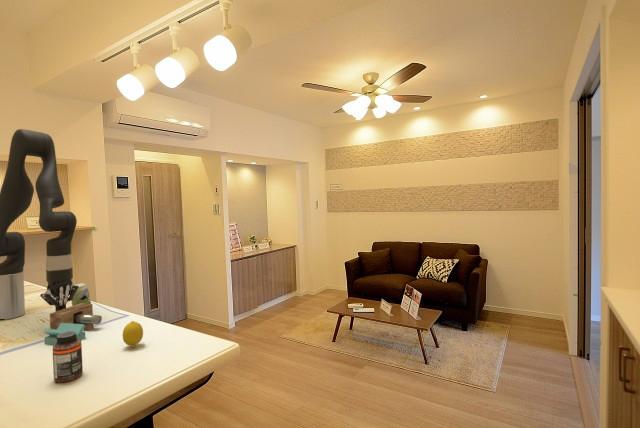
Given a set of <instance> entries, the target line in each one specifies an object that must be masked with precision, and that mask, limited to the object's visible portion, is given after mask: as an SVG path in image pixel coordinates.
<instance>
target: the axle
mask: <svg viewBox="0 0 640 428" xmlns="http://www.w3.org/2000/svg"><path fill="white" fill-rule="evenodd" d="M102 320H103V319H102V316H101V315H96V314H93V315H85V314H73V322H74V323H84V324H94V325H100V324H101V322H102Z"/></svg>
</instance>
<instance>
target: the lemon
mask: <svg viewBox="0 0 640 428" xmlns="http://www.w3.org/2000/svg"><path fill="white" fill-rule="evenodd" d="M143 337H144V329H143V326H142V325H141V324H140V323H139V322H137V321H134V320H132V321H130V322H129V323H127V324H126V325H125V326H124V327H123V330H122V340H123V342H124V343H125V345H126V346H130V347H132V348H134V347H136V346H137V345H138V344H139V343H140V342H141V341H142V339H143Z"/></svg>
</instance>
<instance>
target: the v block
mask: <svg viewBox="0 0 640 428" xmlns="http://www.w3.org/2000/svg"><path fill="white" fill-rule="evenodd" d="M85 327H86V325H84V324H71V323H61V324H60V325H59V327H58V328H57V330H54V329H50V328H44V330H43V331H42V332H43V333H44V334H46V335H47V336H46V337H44V344H45V345H53V346H54V345H55V344H56V343H57V335H59V334H61V333H64V332H69V331H75V332H76V335H77V337H76V338H77V339H79V340H80V341H82V340H85V339H86V331H85V330H84V328H85Z"/></svg>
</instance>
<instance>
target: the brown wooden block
mask: <svg viewBox="0 0 640 428" xmlns="http://www.w3.org/2000/svg"><path fill="white" fill-rule="evenodd" d="M93 310H94V309H93V303H91V304H87V303H80V304H77V305H74V306H72V305H71V306H68V307H66V308H65V309H62V310H59V311H56V312H55V311H54V312H50V313H49V327H50V328H49V329H54V330H57V328H58V327H59V325H60V324H61V323H71V324H84V323H74V322H73V314H85V315H94V313H93ZM84 325H86V327H85V328H84V330H83V331H93V330H94V329H95V324H84Z"/></svg>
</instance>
